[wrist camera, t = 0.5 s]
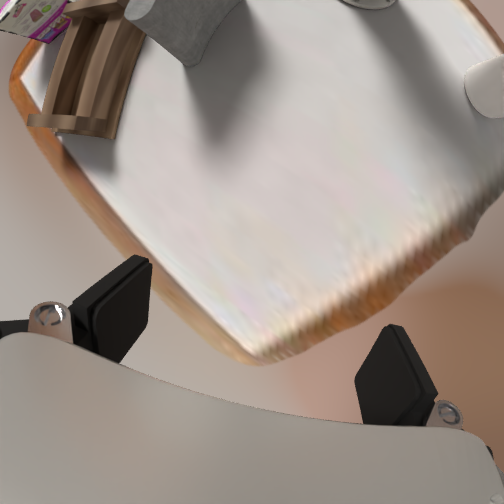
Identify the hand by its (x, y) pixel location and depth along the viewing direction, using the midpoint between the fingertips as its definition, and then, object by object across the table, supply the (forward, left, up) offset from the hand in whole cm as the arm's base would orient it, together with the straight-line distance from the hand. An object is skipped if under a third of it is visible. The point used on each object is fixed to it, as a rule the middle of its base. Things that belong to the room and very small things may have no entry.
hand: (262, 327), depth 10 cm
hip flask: (-25, -17, -31) cm, 43 cm away
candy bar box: (-28, -50, -31) cm, 65 cm away
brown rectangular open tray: (-16, -35, -31) cm, 49 cm away
